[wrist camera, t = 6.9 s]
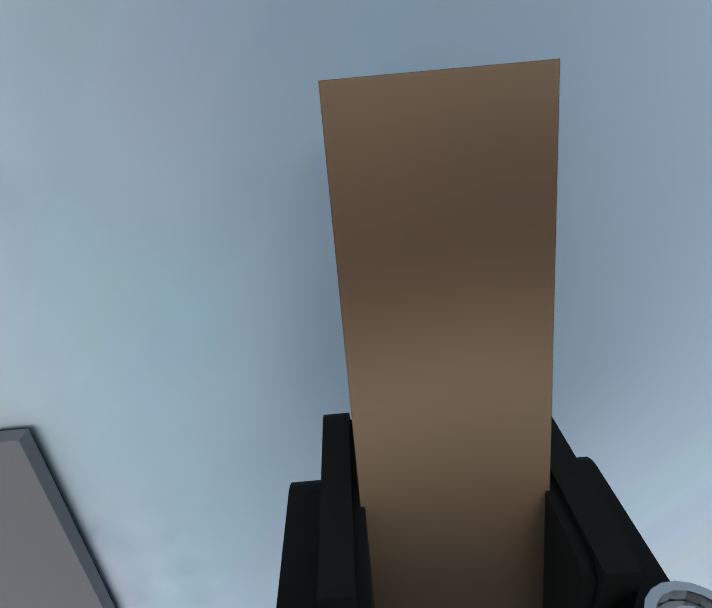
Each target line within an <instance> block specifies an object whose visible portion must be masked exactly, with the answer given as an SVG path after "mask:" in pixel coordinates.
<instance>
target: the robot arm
mask: <svg viewBox="0 0 712 608" xmlns="http://www.w3.org/2000/svg"><path fill="white" fill-rule="evenodd" d="M276 608H375V604H374V594H373V583H372V573H371V563H370V552H369V542H368V532H367V521H366V511H365V507H361V505H360V495H359V485H358V474H357V464H356V454H355V444H354V434H353V424H352V419H351V420H350V416H349V413H340V414H329V415H324V416H323V439H322V468H321V480H315V481H304V482H292V483H291V484H290V488H289V496H288V505H287V514H286V523H285V533H284V542H283V551H282V561H281V570H280V579H279V588H278V598H277V607H276ZM543 608H712V591H711V590H709V589H707V588H704V587H701V586H698V585H696V584H693V583H688V582H681V581H669V579H668V577H667V576H666V574H665V573H664V571H663V570H662V568H661V566H660V565H659V563H658V562H657V560H656V559H655V557H654V555H653V554H652V552H651V551H650V549H649V548H648V546H647V544H646V543H645V541H644V540H643V538H642V536H641V535H640V533H639V532H638V530H637V529H636V527H635V525H634V524H633V522H632V521H631V519H630V518H629V516H628V514H627V513H626V511H625V510H624V508H623V506H622V505H621V503H620V502H619V500H618V499H617V497H616V495H615V494H614V492H613V491H612V489H611V488H610V486H609V484H608V483H607V481H606V480H605V478H604V477H603V475H602V473H601V472H600V470H599V469H598V467H597V466H596V464H595V463H594V462H593V460H592V459H590V458H589V457H577V458H576V456H575V455H574V453H573V451H572V450H571V448H570V446H569V444H568V443H567V441H566V439H565V438H564V436H563V434H562V433H561V431H560V429H559V428H558V426H557V424H556V423H555V421H554V419H553V418H552V416H551V456H550V491H545V528H544V574H543Z"/></svg>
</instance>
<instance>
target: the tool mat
mask: <svg viewBox="0 0 712 608" xmlns="http://www.w3.org/2000/svg"><path fill="white" fill-rule="evenodd" d="M0 608H115V606H114V604H113V602H112V600H111V598H110V596H109V594H108V592H107V590H106V588H105V586H104V583H103V581H102V579H101V577H100V575H99V573H98V571H97V569H96V567H95V565H94V563H93V561H92V559H91V557H90V555H89V552H88V550H87V548H86V546H85V544H84V542H83V540H82V538H81V536H80V534H79V532H78V530H77V528H76V526H75V524H74V522H73V519H72V517H71V515H70V513H69V511H68V509H67V507H66V505H65V503H64V501H63V499H62V497H61V495H60V493H59V491H58V489H57V486H56V484H55V482H54V480H53V478H52V476H51V474H50V472H49V470H48V468H47V466H46V464H45V462H44V460H43V458H42V456H41V453H40V451H39V449H38V447H37V445H36V443H35V441H34V439H33V437H32V435H31V433H30V431H29V429H17V430H6V431H0Z"/></svg>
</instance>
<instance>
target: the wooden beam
mask: <svg viewBox="0 0 712 608" xmlns="http://www.w3.org/2000/svg"><path fill="white" fill-rule="evenodd" d="M559 82H560V59H551V60H540V61H529V62H518V63H507V64H496V65H485V66H474V67H463V68H452V69H442V70H431V71H420V72H409V73H398V74H387V75H376V76H365V77H354V78H343V79H332V80H321V81H318V83H319V93H320V103H321V113H322V123H323V133H324V143H325V153H326V163H327V173H328V183H329V193H330V203H331V213H332V223H333V234H334V244H335V254H336V264H337V274H338V284H339V294H340V304H341V314H342V324H343V334H344V344H345V354H346V364H347V374H348V384H349V394H350V404H351V414H352V424H353V434H354V444H355V454H356V464H357V474H358V485H359V495H360V505H361V507H365V511H366V521H367V532H368V542H369V552H370V563H371V573H372V583H373V594H374V604H375V608H543V574H544V528H545V491H550V456H551V415H552V373H553V331H554V290H555V248H556V207H557V165H558V123H559Z"/></svg>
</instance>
